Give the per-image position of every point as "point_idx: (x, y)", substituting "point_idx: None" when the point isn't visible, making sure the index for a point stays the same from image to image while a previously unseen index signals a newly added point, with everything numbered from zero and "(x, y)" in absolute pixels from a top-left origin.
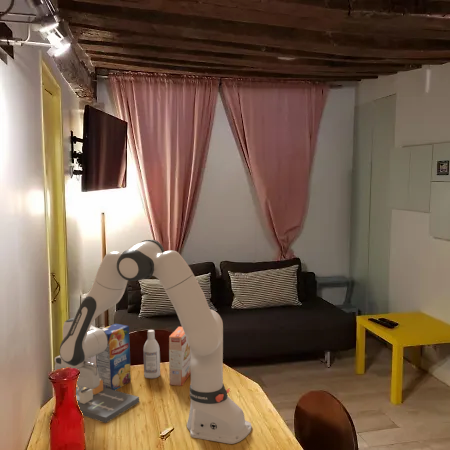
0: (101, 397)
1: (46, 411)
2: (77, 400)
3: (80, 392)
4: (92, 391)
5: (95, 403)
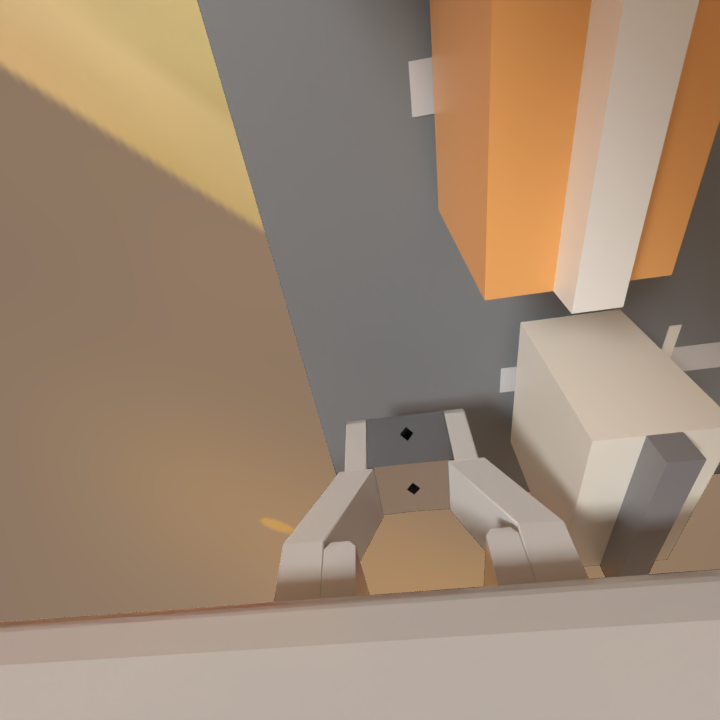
0: (710, 161)
1: (292, 529)
2: (427, 412)
3: (590, 564)
4: (698, 389)
5: (710, 337)
